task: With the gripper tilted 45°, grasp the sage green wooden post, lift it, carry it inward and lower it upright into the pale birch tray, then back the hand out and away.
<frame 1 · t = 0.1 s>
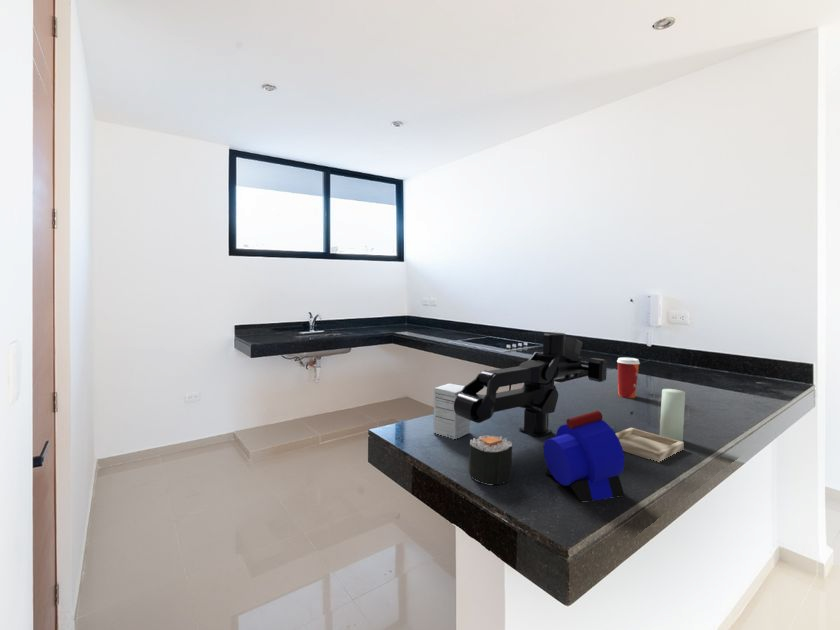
hand: (590, 363, 128), 17 cm above the worktop, tool horizontal, fingers open, 9 cm apart
sushi: (489, 477, 87), on the worktop
birch tray: (643, 447, 104), on the worktop
paper cup: (626, 396, 154), on the worktop
sage post: (670, 439, 109), on the worktop
alarm clock: (579, 486, 83), on the worktop
supplement box: (451, 434, 112), on the worktop
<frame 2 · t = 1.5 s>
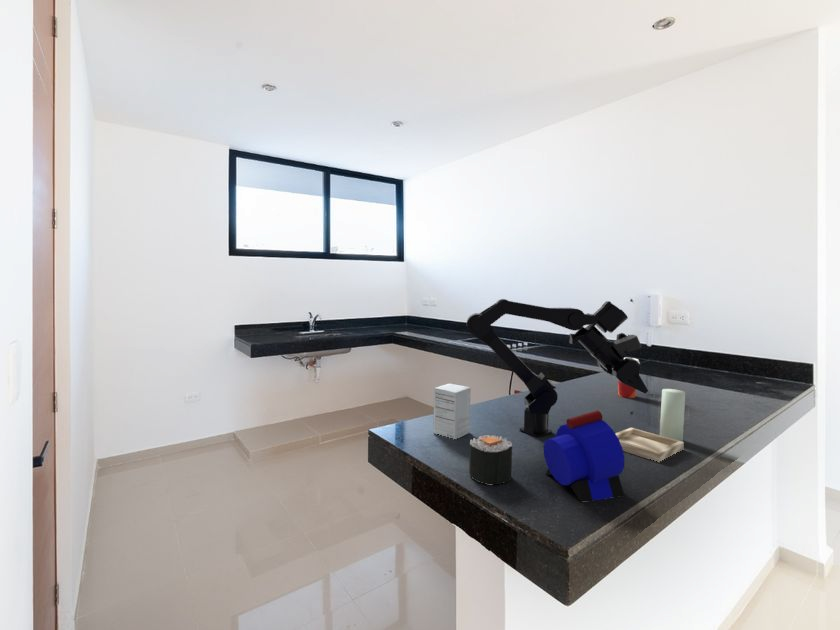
hand: (639, 387, 110), 13 cm above the worktop, tool tilted 45°, fingers open, 9 cm apart
nothing on the worktop moved.
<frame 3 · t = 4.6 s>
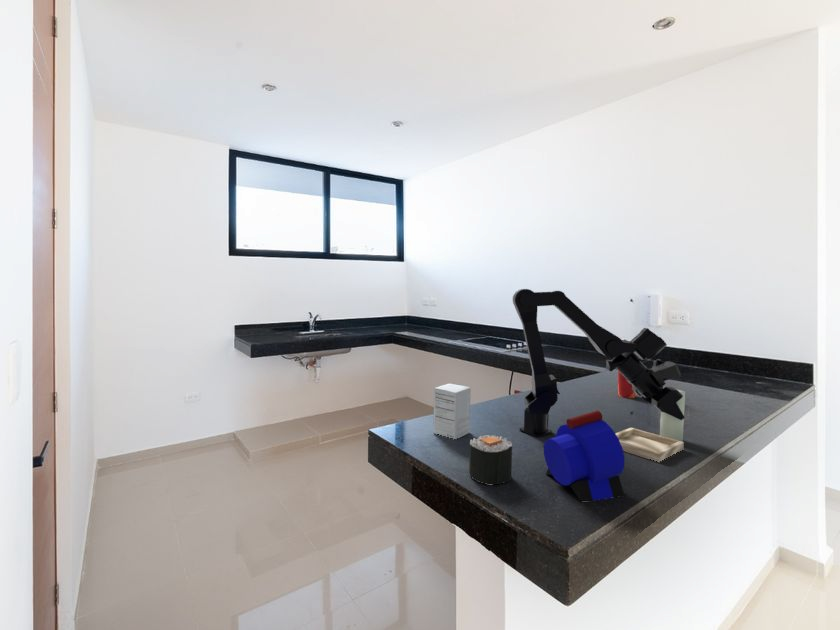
hand: (678, 415, 109), 7 cm above the worktop, tool tilted 45°, fingers closed on sage post, 5 cm apart
sage post: (670, 439, 109), on the worktop, touching gripper
everything else where it was.
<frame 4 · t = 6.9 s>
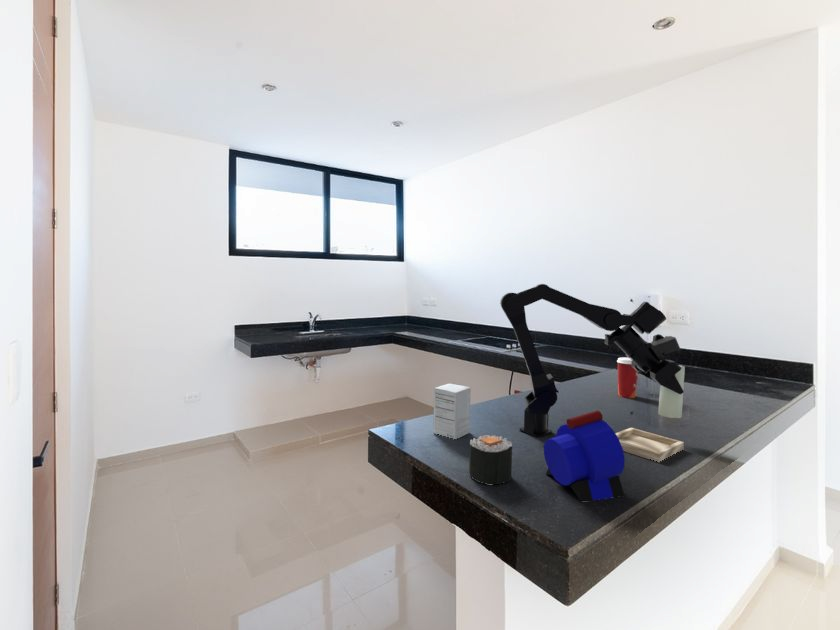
hand: (677, 390, 108), 13 cm above the worktop, tool tilted 45°, fingers closed on sage post, 5 cm apart
sage post: (669, 415, 108), point 7 cm above the worktop, touching gripper
everything else where it was.
when the fingers open (9 cm above the worktop, at t = 9.3 s): sage post drops 1 cm, resting on birch tray.
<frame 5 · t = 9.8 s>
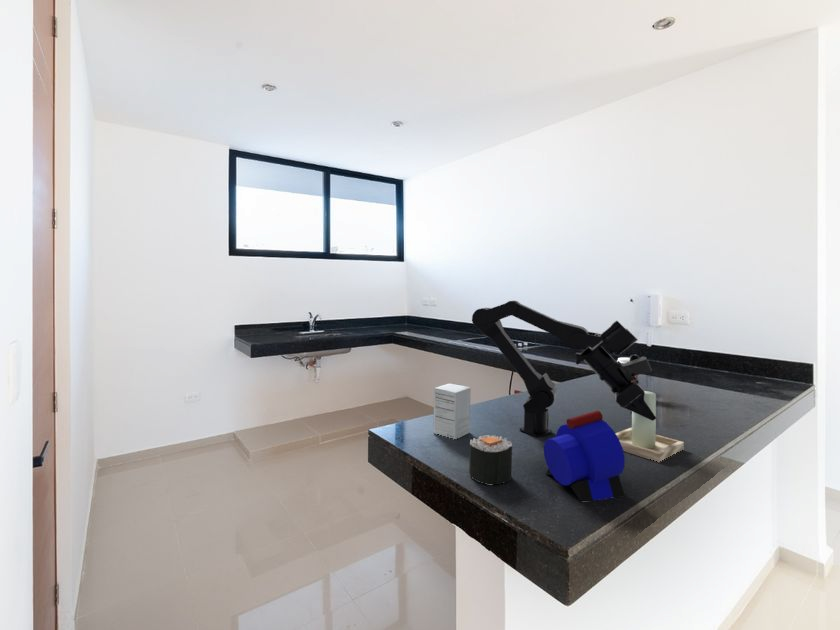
hand: (651, 414, 103), 9 cm above the worktop, tool tilted 45°, fingers open, 9 cm apart
sage post: (643, 444, 104), point 1 cm above the worktop, touching birch tray
everything else where it was.
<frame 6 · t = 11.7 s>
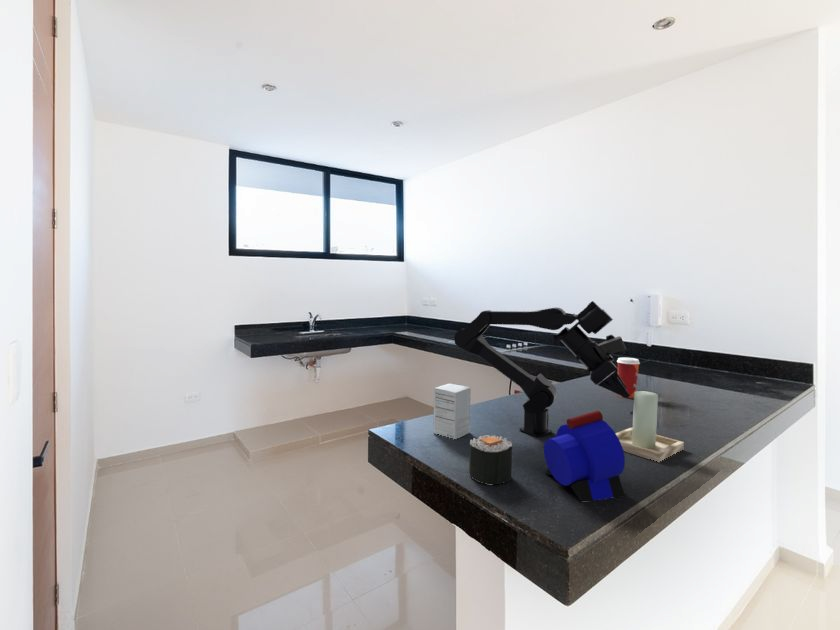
hand: (626, 392, 105), 13 cm above the worktop, tool tilted 45°, fingers open, 9 cm apart
nothing on the worktop moved.
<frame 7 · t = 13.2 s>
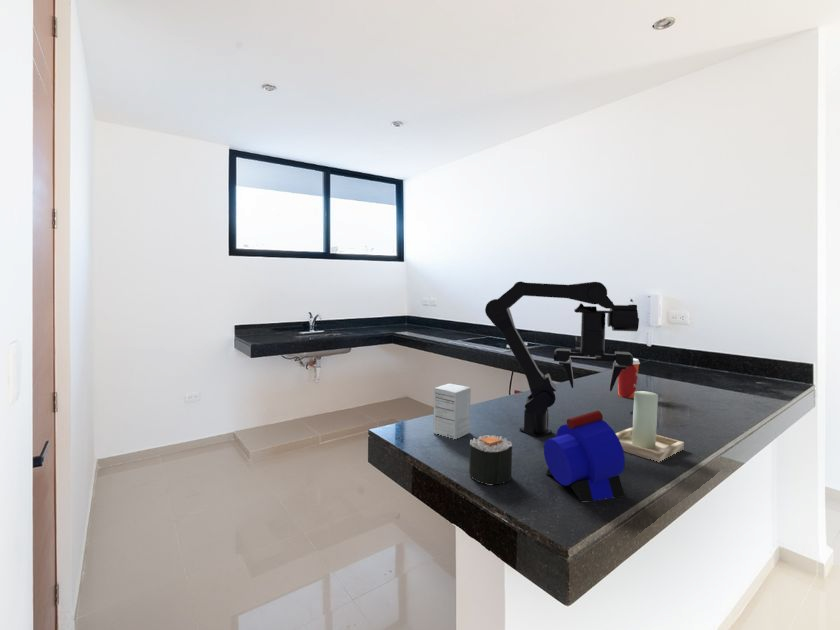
hand: (591, 389, 109), 13 cm above the worktop, tool pointing down, fingers open, 9 cm apart
nothing on the worktop moved.
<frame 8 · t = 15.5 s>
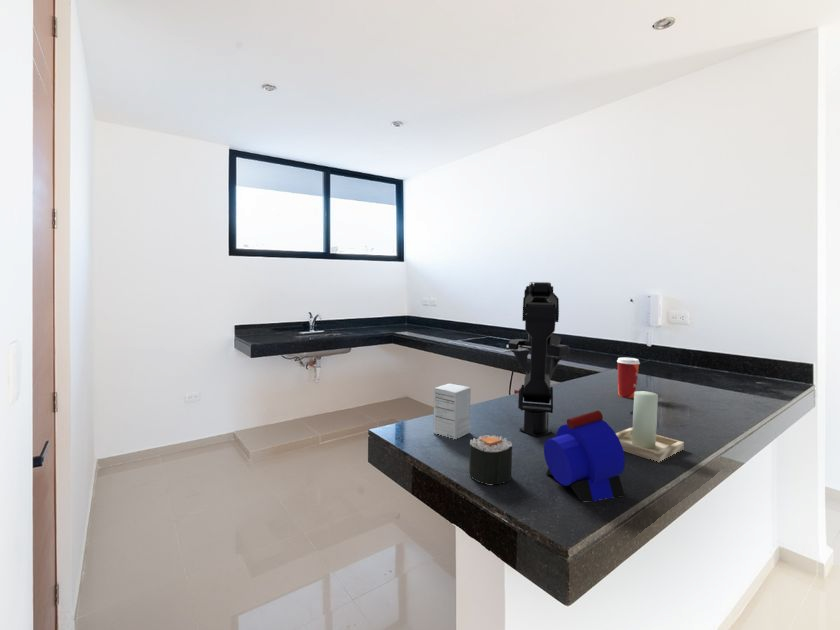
hand: (536, 375, 125), 13 cm above the worktop, tool pointing down, fingers open, 9 cm apart
nothing on the worktop moved.
at the end: sage post inside the target area on the birch tray (0.1 cm from its centre), point 0.6 cm above the birch tray's base; sage post tilted 0°; the gripper is holding nothing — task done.
